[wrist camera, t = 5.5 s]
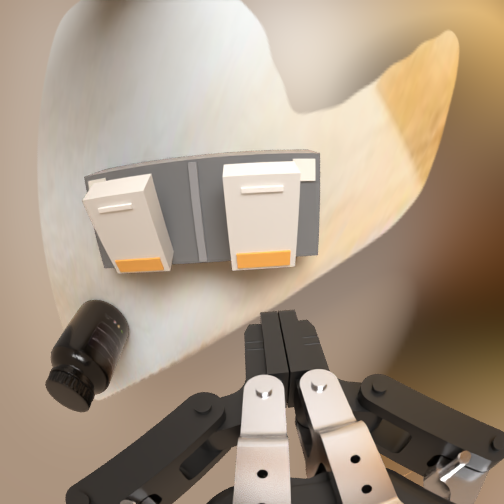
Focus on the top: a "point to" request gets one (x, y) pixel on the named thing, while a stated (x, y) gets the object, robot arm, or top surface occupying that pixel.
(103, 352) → the supplement bottle
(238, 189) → the rocker
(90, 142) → the top surface
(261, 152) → the switch panel
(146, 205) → the block
